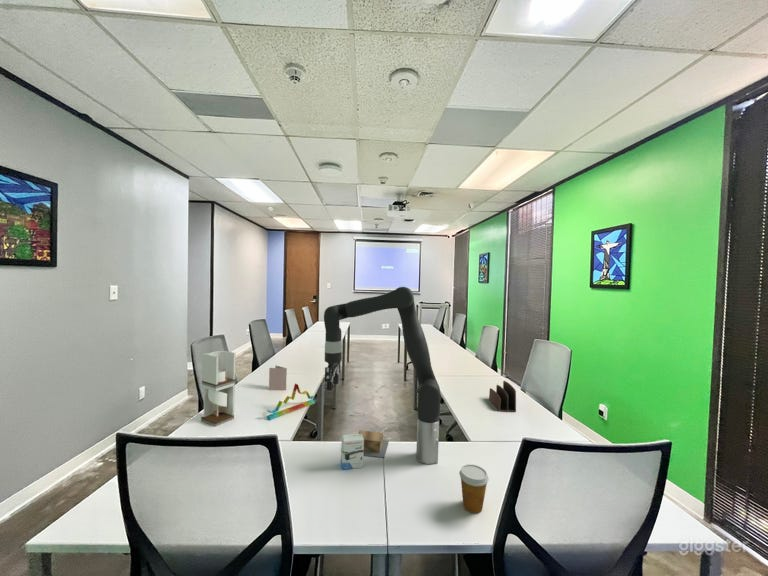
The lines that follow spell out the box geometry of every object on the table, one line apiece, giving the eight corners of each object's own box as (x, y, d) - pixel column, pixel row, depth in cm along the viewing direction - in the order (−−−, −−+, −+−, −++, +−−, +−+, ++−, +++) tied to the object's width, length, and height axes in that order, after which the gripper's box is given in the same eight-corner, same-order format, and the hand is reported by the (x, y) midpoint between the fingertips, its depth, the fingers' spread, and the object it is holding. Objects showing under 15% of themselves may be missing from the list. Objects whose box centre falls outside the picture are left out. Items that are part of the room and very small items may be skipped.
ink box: (342, 470, 123) (343, 441, 123) (340, 463, 128) (341, 435, 128) (363, 467, 125) (364, 438, 125) (361, 460, 130) (361, 432, 130)
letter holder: (503, 400, 205) (504, 378, 205) (516, 412, 185) (517, 389, 185) (488, 399, 205) (489, 378, 205) (499, 412, 186) (500, 388, 185)
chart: (270, 420, 164) (270, 392, 164) (266, 419, 166) (267, 391, 166) (314, 404, 189) (315, 379, 188) (311, 402, 191) (312, 378, 190)
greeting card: (287, 390, 210) (287, 367, 210) (278, 393, 204) (278, 370, 204) (275, 386, 216) (276, 365, 216) (266, 389, 210) (267, 367, 210)
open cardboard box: (382, 443, 144) (382, 432, 144) (379, 452, 136) (379, 441, 136) (359, 440, 146) (359, 430, 145) (355, 449, 138) (355, 438, 138)
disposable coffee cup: (481, 497, 110) (482, 463, 110) (491, 517, 101) (493, 480, 101) (455, 496, 110) (456, 463, 110) (462, 517, 100) (464, 480, 100)
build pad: (388, 441, 146) (388, 440, 146) (384, 458, 132) (384, 457, 132) (355, 437, 149) (355, 437, 149) (347, 453, 135) (347, 452, 135)
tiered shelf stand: (201, 421, 161) (202, 353, 160) (220, 413, 170) (221, 350, 170) (215, 426, 155) (216, 357, 155) (234, 418, 165) (235, 353, 164)
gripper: (336, 354, 130) (335, 393, 131) (346, 347, 144) (345, 382, 145) (319, 353, 132) (318, 391, 132) (330, 347, 146) (330, 381, 146)
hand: (332, 386), depth 138 cm, fingers open, 8 cm apart
